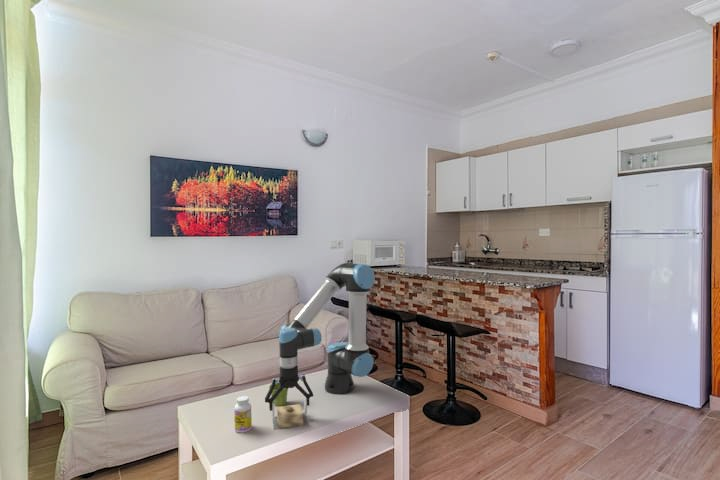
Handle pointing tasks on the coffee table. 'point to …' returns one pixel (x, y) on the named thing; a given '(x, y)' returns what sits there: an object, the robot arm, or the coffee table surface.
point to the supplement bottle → (243, 414)
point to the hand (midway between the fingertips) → (289, 415)
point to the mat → (275, 425)
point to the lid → (289, 415)
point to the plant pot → (280, 395)
